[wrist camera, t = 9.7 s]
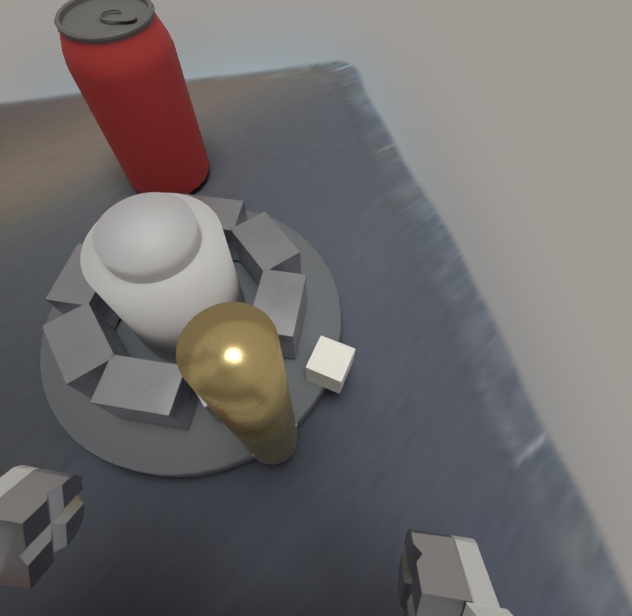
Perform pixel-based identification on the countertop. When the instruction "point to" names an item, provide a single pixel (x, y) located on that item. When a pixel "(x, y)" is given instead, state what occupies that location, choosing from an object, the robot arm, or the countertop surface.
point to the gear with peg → (198, 345)
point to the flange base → (203, 426)
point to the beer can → (135, 91)
